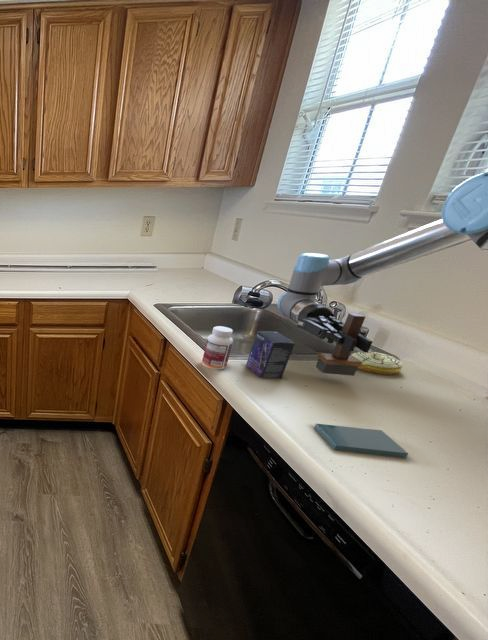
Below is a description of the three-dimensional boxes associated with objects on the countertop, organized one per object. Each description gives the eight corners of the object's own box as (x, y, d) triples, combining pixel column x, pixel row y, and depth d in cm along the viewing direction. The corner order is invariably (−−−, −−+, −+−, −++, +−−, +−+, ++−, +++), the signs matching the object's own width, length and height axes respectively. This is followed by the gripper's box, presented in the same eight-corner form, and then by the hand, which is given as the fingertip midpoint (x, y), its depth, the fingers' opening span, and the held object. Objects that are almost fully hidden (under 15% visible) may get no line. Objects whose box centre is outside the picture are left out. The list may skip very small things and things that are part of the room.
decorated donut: (343, 358, 122) (348, 346, 120) (390, 365, 118) (395, 352, 116) (353, 372, 113) (358, 359, 112) (404, 379, 109) (410, 366, 107)
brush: (346, 368, 108) (369, 313, 101) (356, 376, 104) (381, 318, 97) (313, 366, 109) (334, 311, 103) (322, 373, 105) (344, 316, 98)
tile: (378, 436, 85) (381, 430, 85) (405, 459, 78) (408, 453, 78) (313, 429, 88) (315, 423, 87) (333, 451, 81) (336, 445, 80)
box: (244, 366, 116) (256, 330, 111) (265, 367, 116) (277, 330, 111) (260, 379, 109) (273, 341, 104) (282, 380, 109) (296, 341, 104)
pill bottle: (212, 360, 120) (222, 324, 115) (230, 369, 115) (241, 331, 110) (196, 363, 118) (205, 326, 113) (213, 372, 113) (224, 333, 108)
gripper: (338, 331, 118) (392, 363, 98) (278, 327, 121) (318, 358, 101) (348, 305, 115) (406, 333, 94) (286, 301, 118) (329, 328, 97)
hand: (360, 346), depth 98 cm, fingers closed on brush, 2 cm apart
